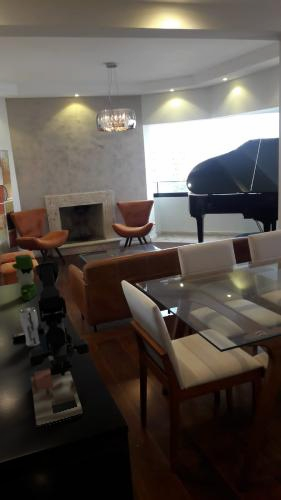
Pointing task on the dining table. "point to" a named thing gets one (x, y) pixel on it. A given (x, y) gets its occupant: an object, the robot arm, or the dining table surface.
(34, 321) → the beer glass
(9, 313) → the dining table surface
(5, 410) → the dining table surface
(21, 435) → the dining table surface
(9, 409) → the dining table surface
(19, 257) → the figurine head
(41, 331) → the vaping device
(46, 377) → the red block
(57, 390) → the deck
